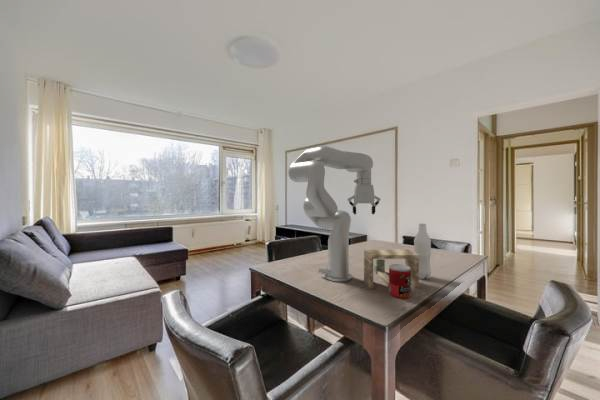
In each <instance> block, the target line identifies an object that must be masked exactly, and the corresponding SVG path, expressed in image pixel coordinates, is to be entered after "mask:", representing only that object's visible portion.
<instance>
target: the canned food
mask: <svg viewBox="0 0 600 400" xmlns="http://www.w3.org/2000/svg"><path fill="white" fill-rule="evenodd" d="M388 270H389V271H388V276H389V286H388V287H389V288H388V291H389V295H390V296H391V297H394V298H396V299H400V300H401V299H402V300H407V299H409V298H410V297H411V293H412V289H411V288H412V286H411V268H410V267H409V266H406V265H405V264H402V263H401V264H399V263H392V264H389V265H388Z"/></svg>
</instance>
